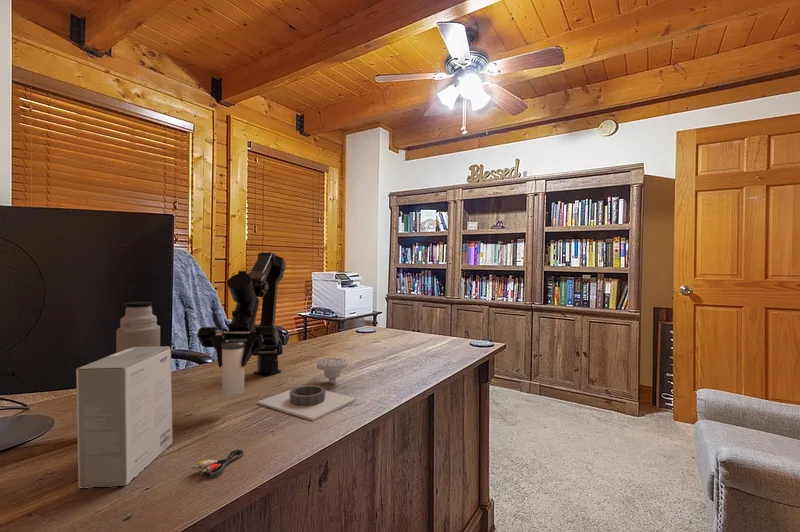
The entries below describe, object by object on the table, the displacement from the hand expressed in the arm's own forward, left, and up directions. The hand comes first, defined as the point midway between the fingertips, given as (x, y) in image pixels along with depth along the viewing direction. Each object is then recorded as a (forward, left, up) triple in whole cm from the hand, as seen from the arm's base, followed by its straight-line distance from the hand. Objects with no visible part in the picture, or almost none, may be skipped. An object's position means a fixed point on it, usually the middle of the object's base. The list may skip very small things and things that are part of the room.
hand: (231, 366), depth 93 cm
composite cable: (+20, -15, -12) cm, 28 cm away
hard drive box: (+5, -24, -12) cm, 27 cm away
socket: (+9, +16, -12) cm, 22 cm away
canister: (-1, +1, -7) cm, 7 cm away
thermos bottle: (-10, -16, -12) cm, 22 cm away
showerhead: (+3, +32, -12) cm, 35 cm away
